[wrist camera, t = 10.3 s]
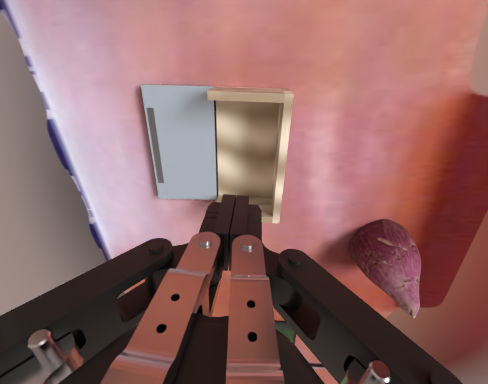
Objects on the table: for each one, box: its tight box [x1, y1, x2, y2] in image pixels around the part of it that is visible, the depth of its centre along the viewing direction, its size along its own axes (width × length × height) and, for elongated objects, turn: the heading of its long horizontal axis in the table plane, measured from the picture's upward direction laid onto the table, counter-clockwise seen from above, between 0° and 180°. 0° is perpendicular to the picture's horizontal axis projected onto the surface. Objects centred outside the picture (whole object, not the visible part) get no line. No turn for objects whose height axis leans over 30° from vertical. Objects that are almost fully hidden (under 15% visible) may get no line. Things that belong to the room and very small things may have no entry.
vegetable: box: [349, 219, 421, 318], centre depth 41 cm, size 10×10×15 cm
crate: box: [207, 86, 294, 223], centre depth 35 cm, size 18×10×7 cm, turn 179°
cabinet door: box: [141, 84, 217, 200], centre depth 38 cm, size 18×1×10 cm
